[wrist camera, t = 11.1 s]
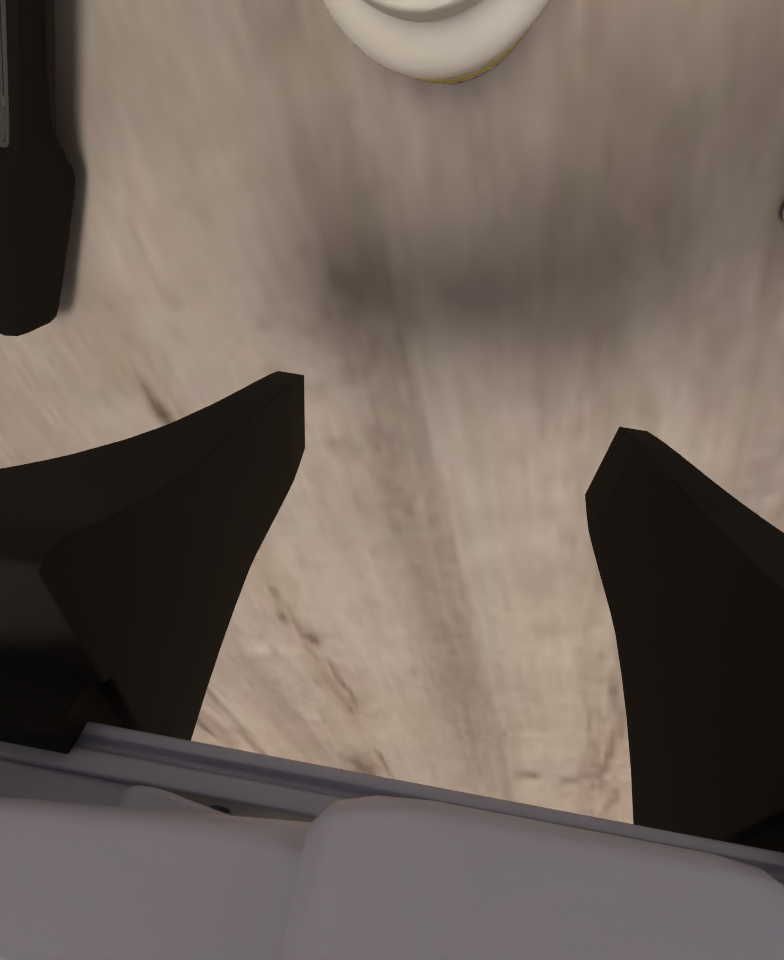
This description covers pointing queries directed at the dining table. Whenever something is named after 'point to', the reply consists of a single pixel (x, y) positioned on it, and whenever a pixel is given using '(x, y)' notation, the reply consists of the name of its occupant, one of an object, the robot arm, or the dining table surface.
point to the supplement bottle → (435, 33)
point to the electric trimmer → (30, 170)
